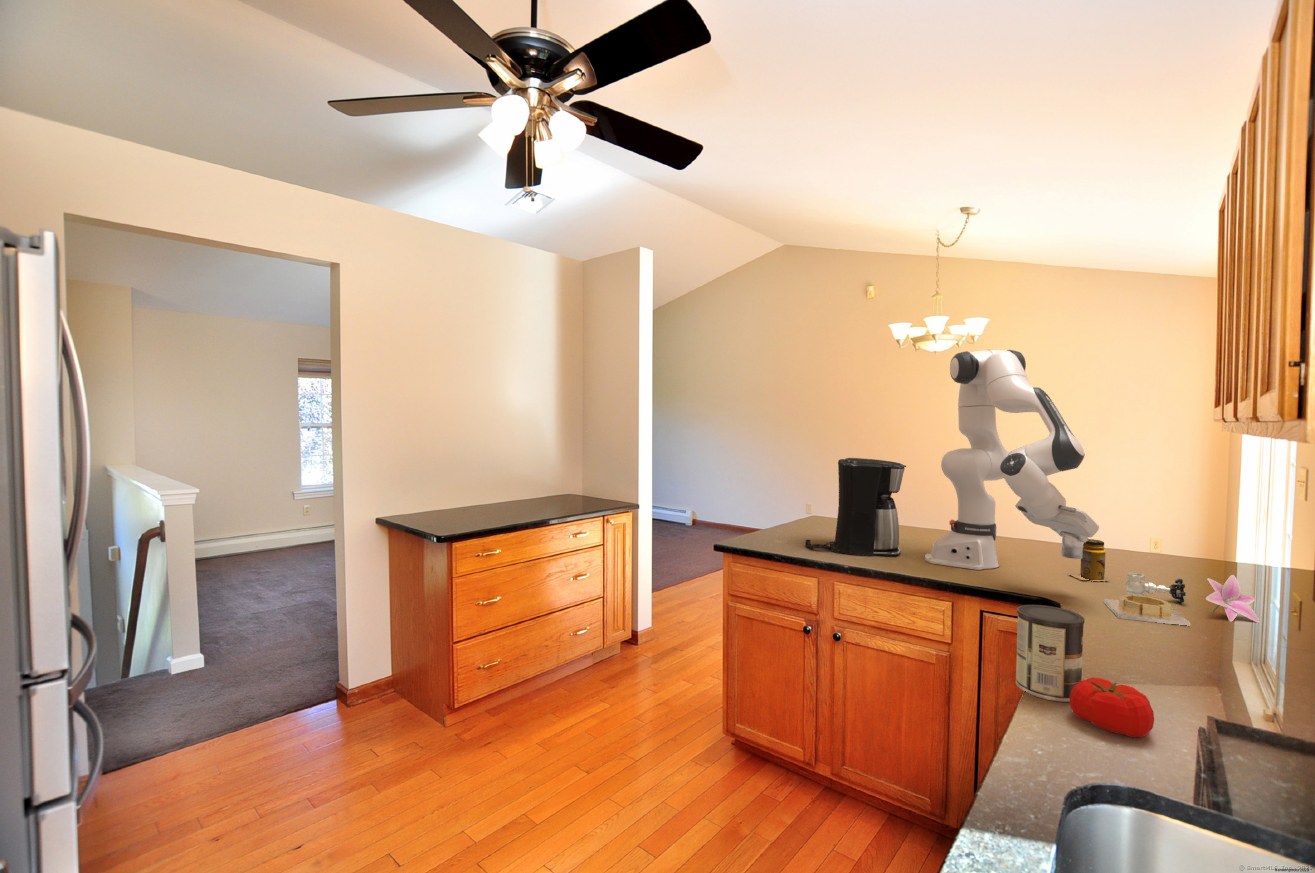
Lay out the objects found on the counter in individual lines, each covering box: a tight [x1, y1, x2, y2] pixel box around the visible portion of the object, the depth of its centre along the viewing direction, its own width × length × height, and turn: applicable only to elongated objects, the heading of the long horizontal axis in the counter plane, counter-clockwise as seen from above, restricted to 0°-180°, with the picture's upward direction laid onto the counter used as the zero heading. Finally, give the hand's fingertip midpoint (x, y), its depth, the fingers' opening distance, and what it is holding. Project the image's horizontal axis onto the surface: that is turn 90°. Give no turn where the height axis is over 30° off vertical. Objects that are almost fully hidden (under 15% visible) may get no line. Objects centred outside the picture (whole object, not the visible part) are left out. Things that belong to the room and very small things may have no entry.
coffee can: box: [1015, 604, 1086, 703], centre depth 110 cm, size 10×10×14 cm
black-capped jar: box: [1060, 531, 1083, 560], centre depth 167 cm, size 5×5×9 cm
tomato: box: [1069, 676, 1155, 738], centre depth 97 cm, size 10×11×6 cm
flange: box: [1103, 594, 1191, 627], centre depth 154 cm, size 14×14×3 cm
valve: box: [1125, 572, 1187, 604], centre depth 166 cm, size 7×7×12 cm
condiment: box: [1067, 538, 1106, 580], centre depth 186 cm, size 7×8×12 cm
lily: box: [1205, 574, 1261, 624], centre depth 152 cm, size 12×12×10 cm
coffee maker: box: [804, 457, 907, 557], centre depth 221 cm, size 23×32×34 cm
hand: (1074, 537), depth 167 cm, fingers closed on black-capped jar, 5 cm apart
